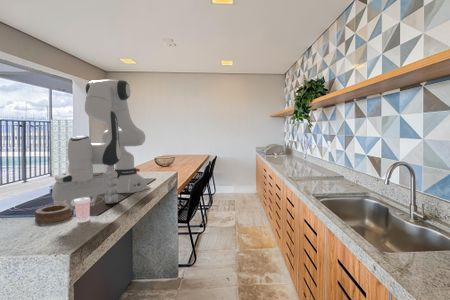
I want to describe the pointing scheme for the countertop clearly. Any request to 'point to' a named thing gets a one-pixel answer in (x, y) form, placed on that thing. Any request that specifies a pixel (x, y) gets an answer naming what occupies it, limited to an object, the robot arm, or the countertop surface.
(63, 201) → the container set
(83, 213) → the beverage cup
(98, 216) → the countertop surface
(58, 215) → the walnut ring
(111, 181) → the plastic bottle
